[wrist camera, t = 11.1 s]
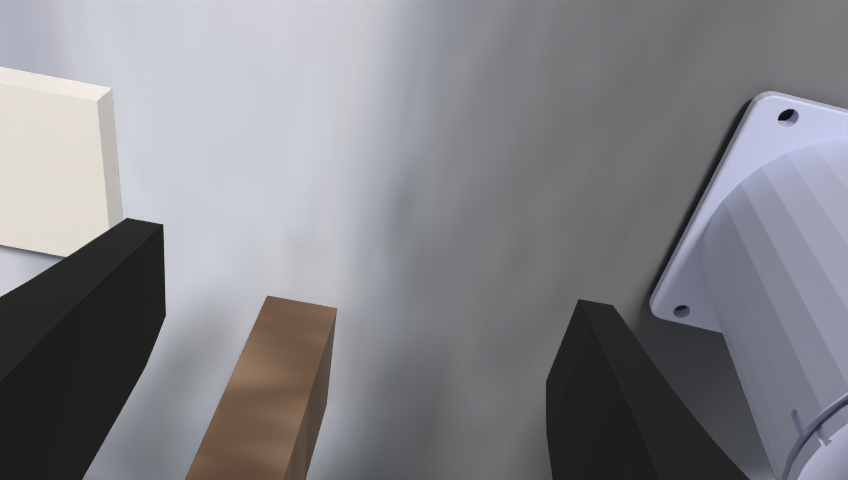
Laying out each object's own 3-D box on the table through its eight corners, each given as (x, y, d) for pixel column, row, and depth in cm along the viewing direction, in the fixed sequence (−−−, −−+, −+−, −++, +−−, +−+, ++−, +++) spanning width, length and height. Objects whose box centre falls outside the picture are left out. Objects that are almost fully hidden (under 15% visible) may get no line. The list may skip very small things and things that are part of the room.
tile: (96, 101, 21) (-144, 55, 21) (112, 265, 24) (-95, 226, 24) (119, 81, 22) (-108, 38, 22) (131, 240, 26) (-66, 204, 26)
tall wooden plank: (336, 308, 26) (276, 500, 19) (326, 405, 29) (271, 601, 22) (267, 295, 26) (183, 483, 19) (263, 393, 29) (189, 587, 22)
